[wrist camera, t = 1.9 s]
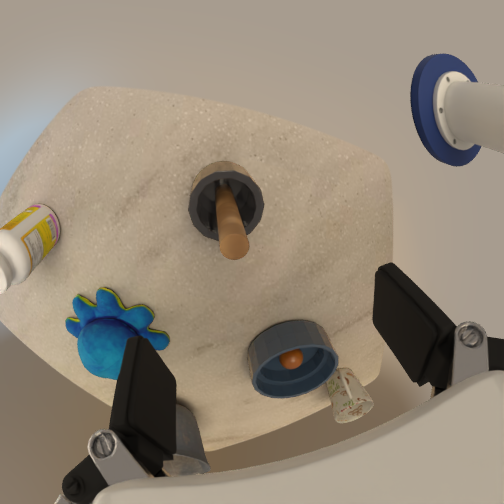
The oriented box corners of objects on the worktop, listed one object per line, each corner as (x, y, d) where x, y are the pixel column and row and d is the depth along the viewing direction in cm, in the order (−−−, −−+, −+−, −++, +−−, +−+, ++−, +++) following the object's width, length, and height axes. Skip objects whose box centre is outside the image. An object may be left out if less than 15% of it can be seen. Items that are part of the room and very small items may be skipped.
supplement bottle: (20, 228, 28) (-30, 276, 17) (35, 192, 27) (-24, 233, 15) (52, 256, 31) (8, 312, 20) (69, 221, 30) (18, 273, 18)
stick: (229, 182, 30) (245, 229, 18) (234, 198, 31) (252, 255, 19) (212, 186, 30) (216, 238, 18) (217, 202, 31) (224, 263, 19)
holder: (245, 153, 30) (254, 161, 24) (260, 211, 33) (270, 231, 28) (184, 170, 30) (178, 182, 24) (202, 227, 33) (202, 250, 28)
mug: (325, 391, 55) (339, 426, 46) (311, 366, 49) (327, 407, 40) (358, 376, 55) (375, 409, 46) (349, 347, 49) (370, 386, 40)
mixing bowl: (323, 307, 42) (338, 332, 37) (327, 359, 49) (338, 382, 44) (237, 332, 42) (242, 361, 37) (257, 380, 49) (262, 405, 43)
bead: (298, 338, 44) (304, 355, 40) (300, 352, 46) (307, 369, 42) (274, 345, 44) (280, 363, 40) (278, 359, 46) (283, 376, 42)
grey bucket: (128, 374, 44) (118, 443, 31) (216, 392, 49) (223, 459, 36) (123, 413, 50) (117, 468, 37) (194, 427, 56) (197, 480, 43)
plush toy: (132, 273, 34) (117, 313, 27) (183, 354, 43) (182, 395, 35) (51, 302, 34) (31, 337, 27) (106, 370, 43) (98, 405, 35)
